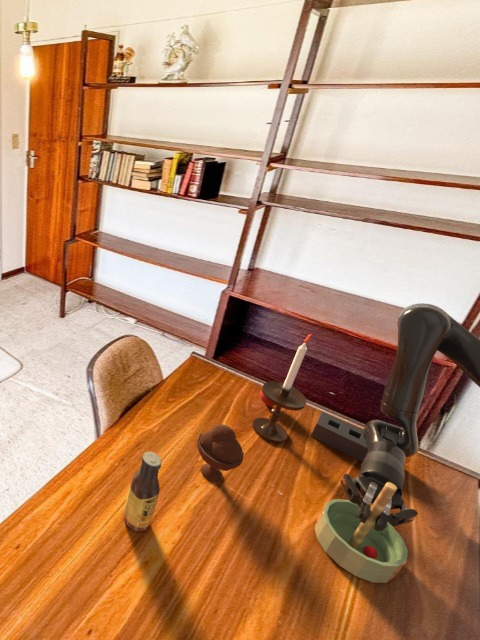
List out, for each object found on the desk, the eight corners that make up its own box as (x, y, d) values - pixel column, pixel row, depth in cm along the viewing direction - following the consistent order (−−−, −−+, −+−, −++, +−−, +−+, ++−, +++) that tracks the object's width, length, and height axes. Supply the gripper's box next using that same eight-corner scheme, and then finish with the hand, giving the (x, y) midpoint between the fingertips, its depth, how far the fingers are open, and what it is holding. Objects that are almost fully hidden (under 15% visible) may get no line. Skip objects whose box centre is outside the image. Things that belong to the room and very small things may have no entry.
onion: (272, 399, 132) (279, 380, 128) (280, 412, 126) (288, 392, 123) (254, 397, 132) (261, 379, 129) (261, 410, 127) (269, 390, 123)
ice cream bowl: (180, 462, 107) (193, 421, 101) (212, 452, 111) (226, 411, 105) (210, 496, 98) (225, 454, 92) (243, 483, 102) (260, 442, 96)
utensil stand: (388, 457, 111) (396, 445, 109) (384, 473, 107) (392, 460, 105) (316, 423, 123) (322, 411, 120) (310, 436, 118) (316, 423, 116)
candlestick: (280, 420, 123) (320, 324, 108) (296, 447, 113) (343, 347, 98) (243, 415, 124) (278, 320, 109) (256, 442, 115) (296, 342, 100)
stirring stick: (357, 546, 88) (397, 486, 80) (356, 551, 87) (396, 491, 78) (348, 540, 89) (386, 480, 81) (347, 545, 88) (385, 485, 80)
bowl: (397, 549, 88) (410, 531, 86) (389, 601, 79) (404, 582, 76) (321, 505, 98) (331, 487, 95) (307, 546, 88) (317, 528, 85)
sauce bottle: (141, 539, 88) (157, 478, 80) (117, 519, 92) (130, 460, 84) (155, 519, 93) (172, 459, 84) (131, 501, 97) (145, 443, 88)
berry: (373, 560, 86) (383, 556, 85) (367, 560, 85) (376, 556, 84) (364, 548, 88) (373, 543, 87) (358, 548, 87) (367, 543, 86)
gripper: (352, 445, 95) (338, 489, 84) (428, 483, 87) (424, 537, 76) (340, 467, 99) (325, 512, 87) (413, 505, 90) (406, 561, 79)
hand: (371, 524), depth 82 cm, fingers closed on stirring stick, 2 cm apart
